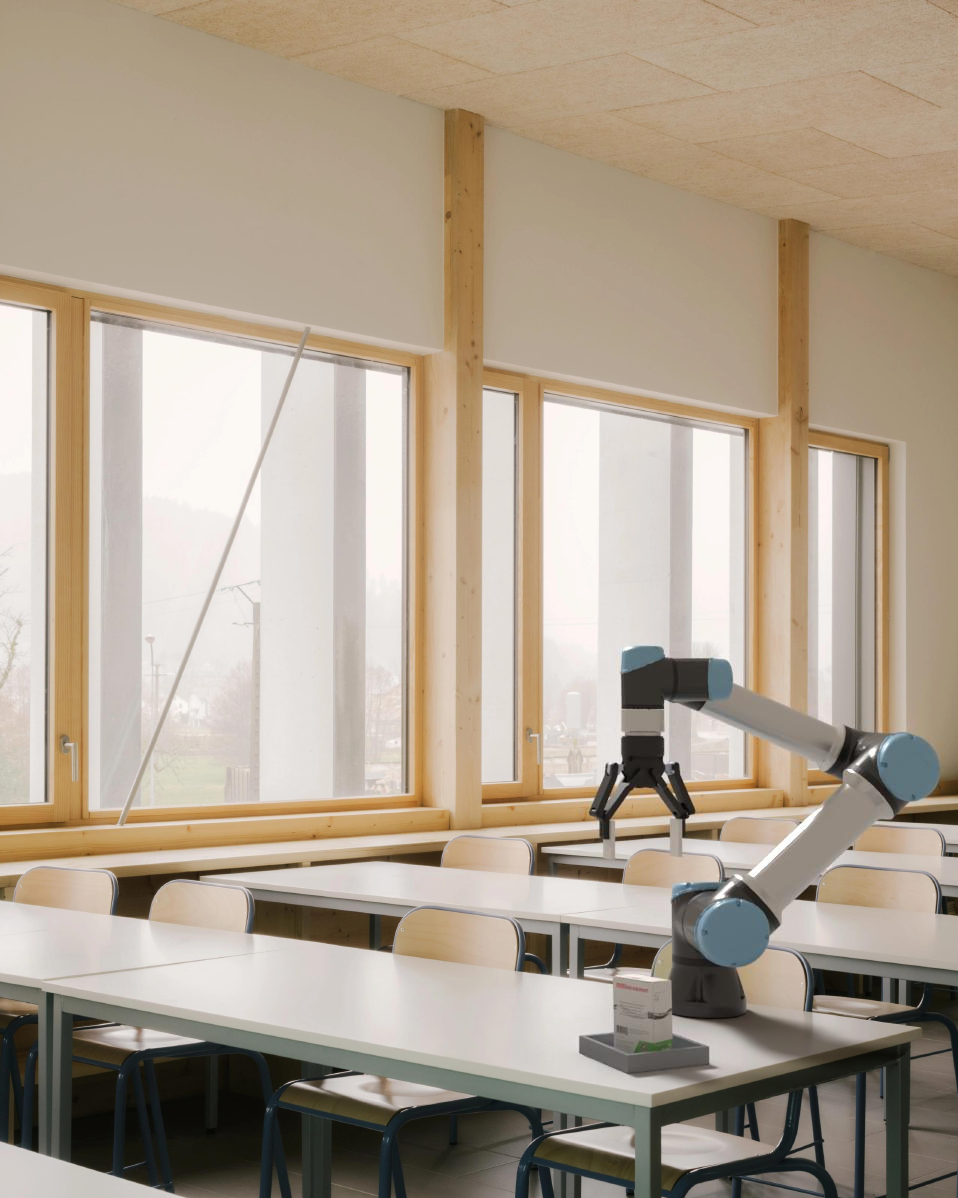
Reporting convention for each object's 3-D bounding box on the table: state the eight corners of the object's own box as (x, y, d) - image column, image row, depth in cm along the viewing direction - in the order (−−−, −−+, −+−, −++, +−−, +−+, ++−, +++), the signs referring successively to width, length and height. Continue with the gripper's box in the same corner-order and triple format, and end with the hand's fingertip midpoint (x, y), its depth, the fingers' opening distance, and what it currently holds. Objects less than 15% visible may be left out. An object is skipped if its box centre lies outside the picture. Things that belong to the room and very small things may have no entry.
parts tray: (657, 1044, 229) (657, 1027, 229) (709, 1064, 216) (709, 1046, 216) (579, 1052, 222) (579, 1035, 223) (627, 1073, 209) (627, 1055, 210)
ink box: (674, 1057, 218) (674, 978, 219) (653, 1062, 214) (653, 982, 215) (632, 1047, 224) (632, 971, 225) (611, 1051, 221) (611, 975, 222)
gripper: (690, 734, 254) (691, 853, 253) (569, 734, 244) (569, 858, 242) (714, 734, 248) (715, 857, 246) (591, 734, 237) (591, 862, 235)
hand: (643, 858), depth 244 cm, fingers open, 13 cm apart
